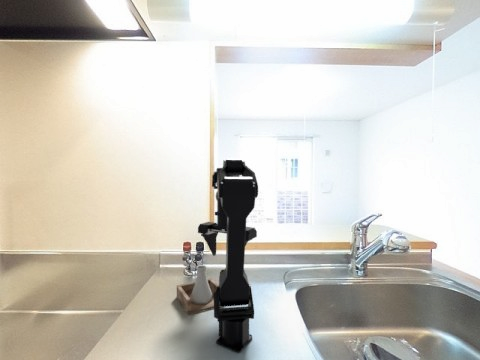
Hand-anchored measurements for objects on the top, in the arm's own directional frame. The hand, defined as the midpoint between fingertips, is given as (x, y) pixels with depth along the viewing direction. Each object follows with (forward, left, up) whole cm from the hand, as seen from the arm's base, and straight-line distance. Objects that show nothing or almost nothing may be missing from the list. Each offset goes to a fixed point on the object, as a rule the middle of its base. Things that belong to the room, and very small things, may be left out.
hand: (226, 257), depth 82 cm
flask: (+6, +5, -13) cm, 15 cm away
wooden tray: (+6, +5, -13) cm, 15 cm away
